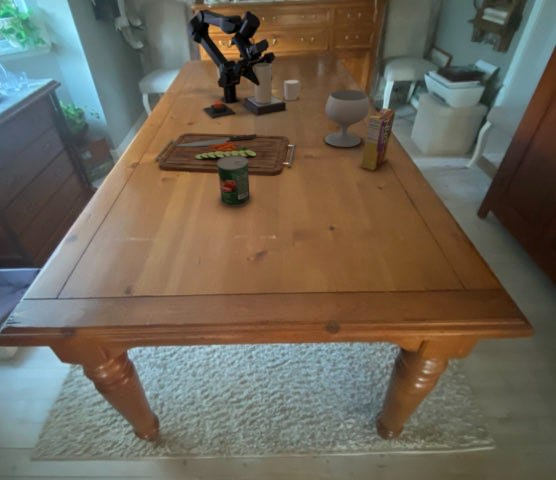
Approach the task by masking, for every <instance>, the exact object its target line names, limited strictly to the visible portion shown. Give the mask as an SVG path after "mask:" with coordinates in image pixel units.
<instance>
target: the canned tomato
mask: <svg viewBox="0 0 556 480" xmlns="http://www.w3.org/2000/svg"><path fill="white" fill-rule="evenodd" d="M217 165H218V173H217V174H218V181H219V189H220V199H221V203H222V204H223V205H224V206H227V207H234V208H235V207H241V206H244V205H246V204H248V202H249V201H250V199H251V197H250V196H251V195H250V179H249V174H248V160H247V158H245V157H243V156H239V155H230V156H225V157H223V158H221V159H219V160H218V162H217Z"/></svg>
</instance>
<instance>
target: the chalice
mask: <svg viewBox="0 0 556 480" xmlns="http://www.w3.org/2000/svg"><path fill="white" fill-rule="evenodd" d="M369 113H370V100H369V96H368V94H367V93H366V92H364V91H361V90H356V89H339V90H335V91H333V92H331V93H330V94H329V97H328V99H327V101H326V103H325V115H326V116H327V118H328V119H329V120H330V121H331V122H334V123H335V124H337V125H338V126H339V127H340V130H341V131H339V132H333V133H330V134H328V135H326V136H325V138H324V140H325V142H326V143H327V144H329V145H330V146H333V147H340V148H348V147H349V148H350V147H355V146H357V145H359V144H360V143H361V141H362V140H361V138H360V137H359V136H358V135H357V134H354V133H350V132H348V129H349V127H351V126H352V125H355V124H357V123H360V122H362V121H363V120H364V119H365V118H366V117H367V116H368V115H369Z"/></svg>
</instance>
